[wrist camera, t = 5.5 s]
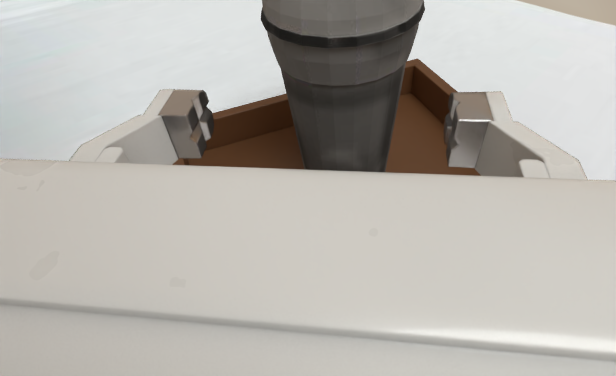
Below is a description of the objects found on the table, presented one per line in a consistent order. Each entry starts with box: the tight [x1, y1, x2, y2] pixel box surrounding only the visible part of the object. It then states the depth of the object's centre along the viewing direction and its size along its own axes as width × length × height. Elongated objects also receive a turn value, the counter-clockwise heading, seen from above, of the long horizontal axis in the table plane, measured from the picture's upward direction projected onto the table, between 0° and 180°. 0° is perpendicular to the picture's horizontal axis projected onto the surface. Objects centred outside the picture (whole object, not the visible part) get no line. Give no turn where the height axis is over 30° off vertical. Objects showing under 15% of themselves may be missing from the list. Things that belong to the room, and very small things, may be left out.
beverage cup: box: [261, 0, 425, 172], centre depth 20 cm, size 7×7×20 cm
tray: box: [172, 59, 481, 176], centre depth 26 cm, size 17×20×3 cm
